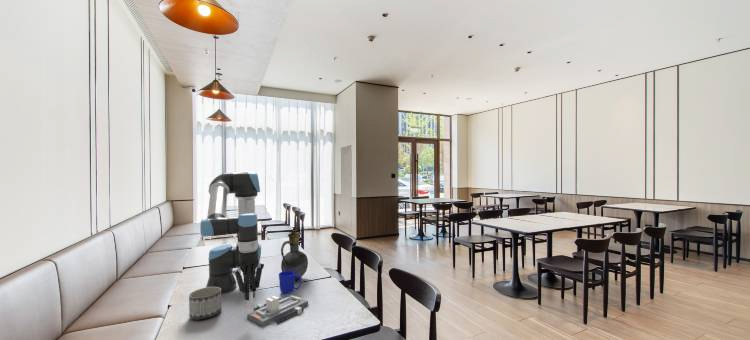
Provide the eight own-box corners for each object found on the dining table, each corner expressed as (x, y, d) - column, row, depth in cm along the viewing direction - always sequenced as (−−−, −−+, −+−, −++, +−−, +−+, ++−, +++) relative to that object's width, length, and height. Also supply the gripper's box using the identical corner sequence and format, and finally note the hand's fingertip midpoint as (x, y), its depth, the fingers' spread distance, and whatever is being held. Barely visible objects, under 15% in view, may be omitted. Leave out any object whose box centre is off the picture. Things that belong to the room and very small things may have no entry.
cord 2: (274, 322, 128) (274, 317, 128) (300, 309, 139) (300, 305, 139) (278, 324, 126) (277, 319, 126) (304, 311, 137) (304, 306, 137)
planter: (199, 324, 128) (198, 300, 128) (183, 317, 134) (183, 294, 134) (227, 312, 138) (226, 289, 138) (211, 306, 145) (211, 284, 145)
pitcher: (310, 276, 182) (309, 227, 183) (290, 288, 165) (288, 233, 165) (296, 274, 187) (294, 226, 187) (274, 285, 169) (273, 232, 169)
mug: (297, 295, 155) (297, 276, 155) (276, 294, 157) (275, 275, 157) (304, 289, 163) (304, 271, 163) (284, 288, 165) (283, 270, 165)
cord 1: (252, 311, 138) (252, 307, 138) (278, 301, 149) (278, 296, 149) (255, 313, 136) (255, 308, 136) (281, 302, 147) (281, 297, 147)
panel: (247, 318, 132) (247, 311, 132) (292, 298, 151) (292, 292, 151) (262, 326, 125) (262, 318, 125) (308, 304, 144) (308, 298, 144)
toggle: (266, 309, 135) (266, 298, 135) (274, 306, 138) (273, 295, 138) (271, 312, 133) (271, 300, 133) (279, 308, 136) (279, 297, 136)
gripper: (238, 255, 119) (239, 315, 119) (267, 248, 130) (269, 303, 129) (228, 252, 124) (230, 310, 123) (257, 246, 134) (259, 299, 134)
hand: (250, 306), depth 126 cm, fingers closed
